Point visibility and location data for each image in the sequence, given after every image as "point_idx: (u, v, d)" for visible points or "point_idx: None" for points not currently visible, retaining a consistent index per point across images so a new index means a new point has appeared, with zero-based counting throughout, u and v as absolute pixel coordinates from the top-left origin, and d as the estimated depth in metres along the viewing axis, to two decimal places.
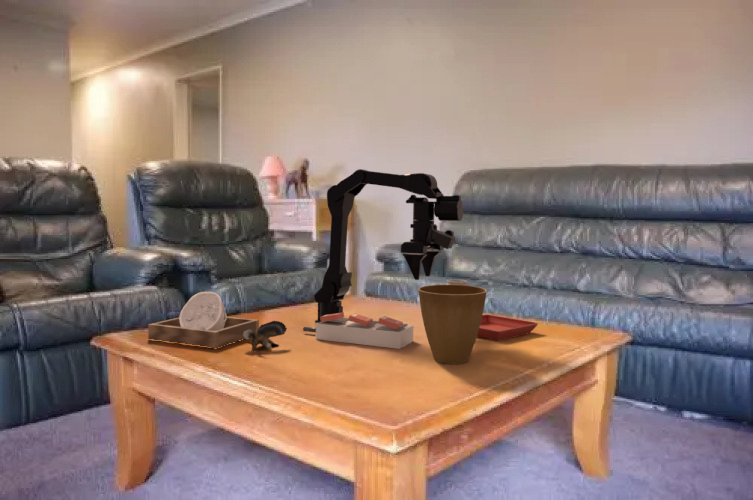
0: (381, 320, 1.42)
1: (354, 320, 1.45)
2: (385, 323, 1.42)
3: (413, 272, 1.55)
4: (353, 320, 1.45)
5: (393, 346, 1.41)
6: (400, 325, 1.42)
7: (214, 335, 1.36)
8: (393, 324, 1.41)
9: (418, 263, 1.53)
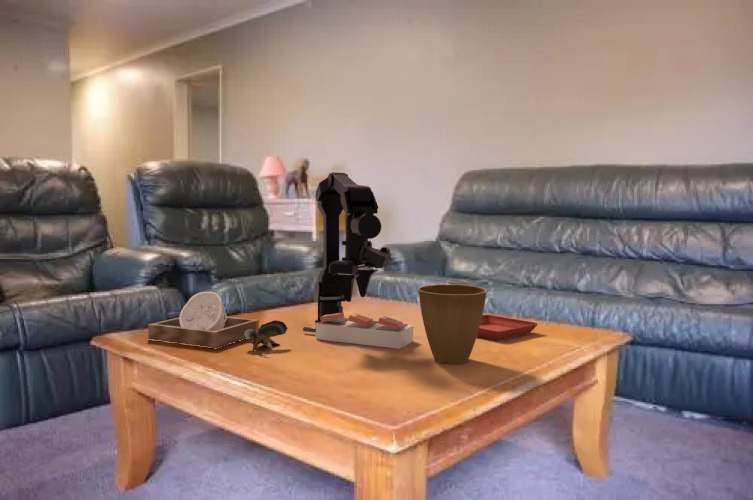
0: (381, 320, 1.42)
1: (354, 320, 1.45)
2: (385, 323, 1.42)
3: (344, 293, 1.42)
4: (353, 320, 1.45)
5: (393, 346, 1.41)
6: (400, 325, 1.42)
7: (214, 335, 1.36)
8: (393, 324, 1.41)
9: (349, 284, 1.41)
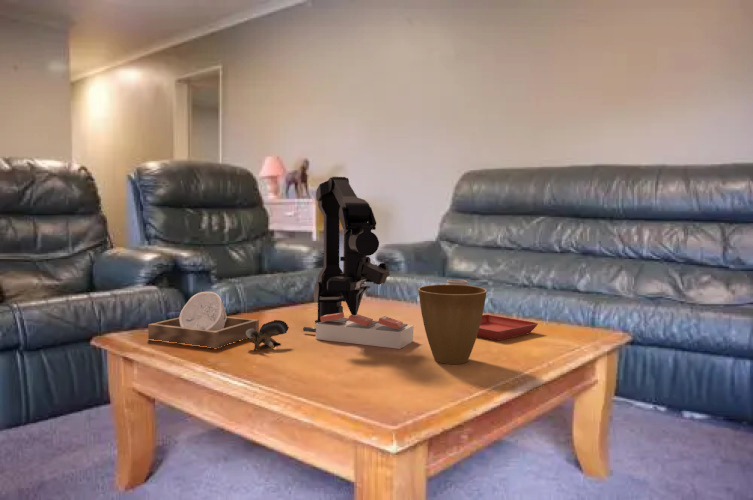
0: (381, 320, 1.42)
1: (354, 320, 1.45)
2: (385, 323, 1.42)
3: (350, 307, 1.46)
4: (353, 320, 1.45)
5: (393, 346, 1.41)
6: (400, 325, 1.42)
7: (214, 335, 1.36)
8: (393, 324, 1.41)
9: (354, 298, 1.45)
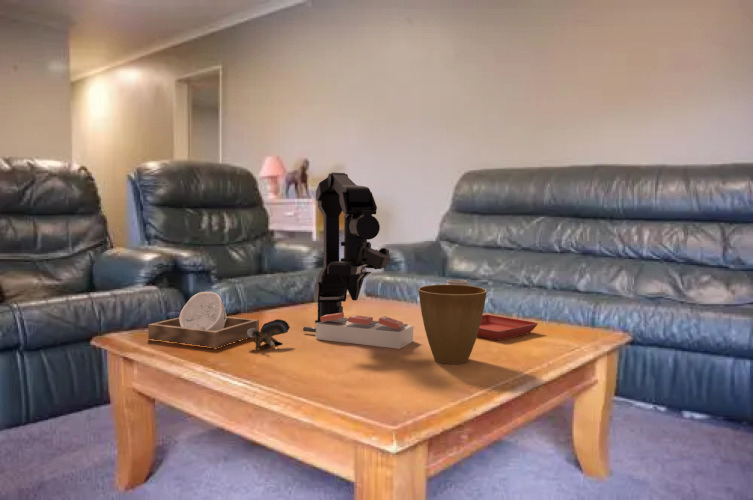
0: (381, 320, 1.42)
1: (354, 321, 1.45)
2: (385, 323, 1.42)
3: (350, 292, 1.46)
4: (353, 321, 1.45)
5: (393, 346, 1.41)
6: (400, 325, 1.42)
7: (214, 335, 1.36)
8: (393, 324, 1.41)
9: (355, 283, 1.44)
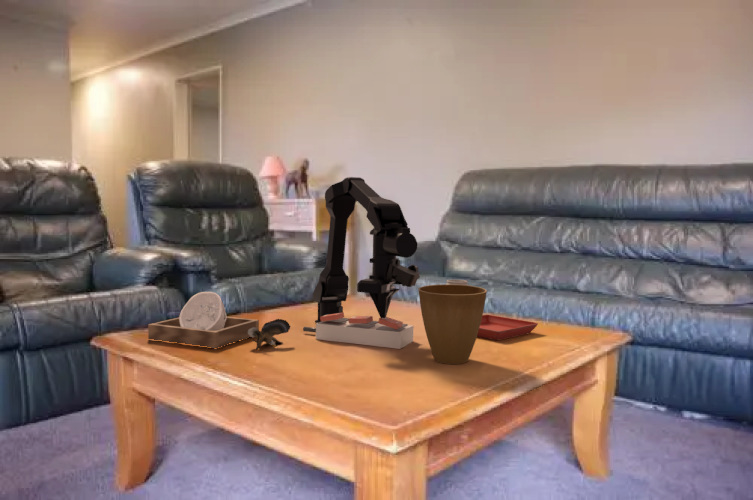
0: (381, 320, 1.42)
1: (354, 321, 1.45)
2: (385, 323, 1.42)
3: (379, 310, 1.43)
4: (353, 321, 1.45)
5: (393, 346, 1.41)
6: (400, 325, 1.42)
7: (214, 335, 1.36)
8: (393, 324, 1.41)
9: (384, 301, 1.41)
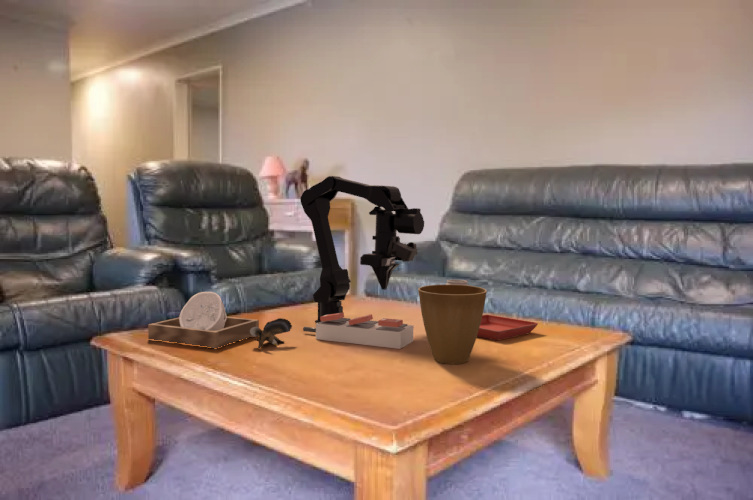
0: (381, 322, 1.42)
1: (354, 322, 1.45)
2: (385, 324, 1.42)
3: (380, 282, 1.60)
4: (353, 322, 1.45)
5: (393, 346, 1.41)
6: (400, 323, 1.42)
7: (214, 335, 1.36)
8: (393, 323, 1.41)
9: (385, 273, 1.58)
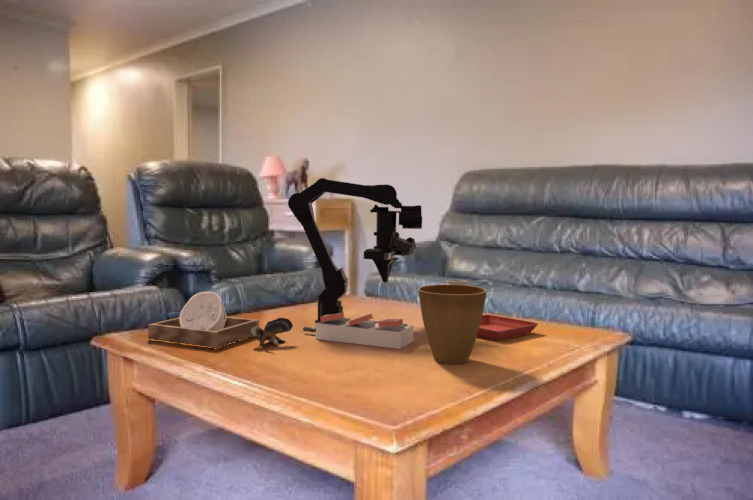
0: (380, 322, 1.42)
1: (354, 322, 1.45)
2: (385, 324, 1.42)
3: (382, 275, 1.70)
4: (354, 323, 1.45)
5: (393, 346, 1.41)
6: (400, 322, 1.42)
7: (214, 335, 1.36)
8: (393, 322, 1.41)
9: (386, 267, 1.68)
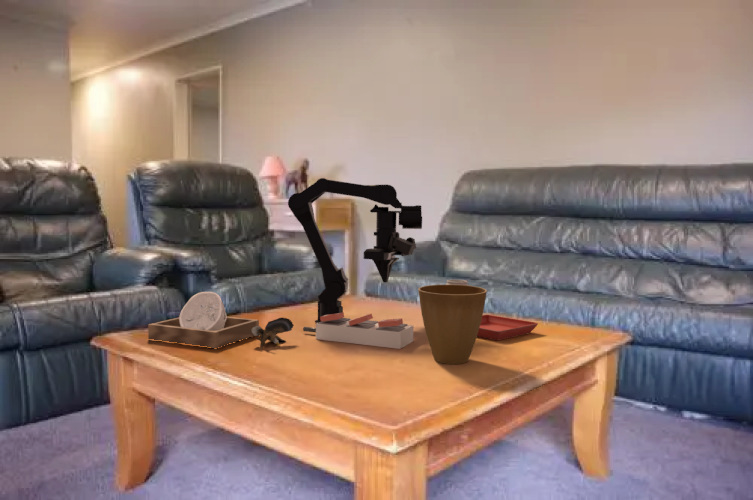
0: (380, 323, 1.42)
1: (354, 322, 1.45)
2: (385, 324, 1.42)
3: (382, 275, 1.70)
4: (354, 323, 1.45)
5: (393, 346, 1.41)
6: (400, 321, 1.42)
7: (214, 335, 1.36)
8: (393, 322, 1.41)
9: (386, 267, 1.68)
